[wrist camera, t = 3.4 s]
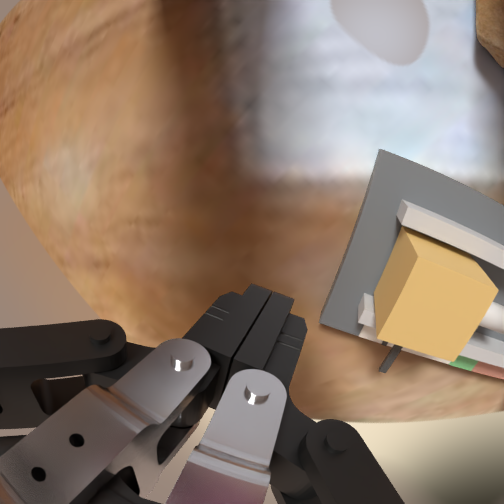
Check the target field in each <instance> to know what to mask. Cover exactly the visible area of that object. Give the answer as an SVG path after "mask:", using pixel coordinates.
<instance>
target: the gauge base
mask: <svg viewBox="0 0 504 504" xmlns="http://www.w3.org/2000/svg"><path fill="white" fill-rule="evenodd" d="M402 226H404V227H407V228H409V229H412V230H414V231H417V232H419V233H422V234H424V235H427V236H429V237H432V238H434V239H436V240H439V241H441V242H443V243H446V244H448V245H450V246H453V247H455V248H457V249H459V250H462V251H464V252H466V253H468V254H470V255H471V256H472V258H473V259H474V260H475V261H476V262H477V263H478V265H479V266H480V267H481V268H482V270H483V271H484V272H485V273H486V274H487V276H488V277H489V278H490V280H491V281H492V282H493V283H494V285H495V286H496V287H497V289H498V290H499V291H498V293H497V295H496V296H495V298H494V300H493V302H495V303H498V304H500V305H502V306H504V206H503V205H502V204H500V203H498V202H496V201H494V200H493V199H491V198H489V197H487V196H485V195H483V194H481V193H480V192H478V191H476V190H474V189H472V188H470V187H468V186H466V185H464V184H462V183H460V182H458V181H456V180H454V179H451V178H449V177H447V176H445V175H443V174H441V173H438V172H436V171H434V170H432V169H429V168H427V167H425V166H422V165H420V164H418V163H415V162H413V161H410V160H408V159H405V158H403V157H400V156H398V155H395V154H393V153H390V152H387V151H385V150H382V149H379V152H378V155H377V158H376V162H375V165H374V169H373V172H372V175H371V178H370V182H369V185H368V188H367V191H366V194H365V197H364V200H363V203H362V206H361V209H360V212H359V215H358V218H357V221H356V224H355V227H354V229H353V232H352V235H351V238H350V240H349V243H348V246H347V249H346V251H345V254H344V257H343V259H342V262H341V264H340V267H339V270H338V272H337V275H336V277H335V280H334V282H333V285H332V287H331V290H330V292H329V295H328V297H327V299H326V302H325V304H324V307H323V309H322V311H321V316H320V320H319V323H321V324H324V325H327V326H330V327H332V328H335V329H338V330H341V331H344V332H347V333H350V334H353V335H356V336H359V337H362V338H365V339H368V340H371V341H374V342H377V343H380V344H382V345H385V346H386V345H387V346H390V347H393V346H394V344H392V343H389V342H386V341H383V340H380V339H377V336H376V316H375V302H374V291H375V289H376V287H377V284H378V282H379V280H380V278H381V276H382V273H383V271H384V269H385V267H386V264H387V262H388V260H389V257H390V255H391V252H392V250H393V248H394V245H395V243H396V240H397V238H398V235H399V233H400V230H401V228H402ZM401 350H403V351H406V352H409V353H412V354H416V355H419V356H422V357H426V358H429V359H432V360H436V361H439V362H443V363H446V364H449V365H451V366H455V367H458V368H462V369H466V370H469V371H473V372H477V373H480V374H484V375H488V376H492V377H496V378H500V379H504V334H501V333H499V332H496V331H493V330H490V329H488V328H485V327H482V326H478V327H477V329H476V330H475V332H474V333H473V335H472V336H471V338H470V339H469V341H468V342H467V344H466V345H465V347H464V348H463V350H462V351H461V353H460V354H459V355H458V357H457V358H456V360H455V361H454V362H452V361H448V360H445V359H441V358H438V357H435V356H431V355H428V354H425V353H421V352H418V351H415V350H412V349H408V348H405V347H403V348H402V349H401Z"/></svg>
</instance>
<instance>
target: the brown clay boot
mask: <svg viewBox="0 0 504 504" xmlns="http://www.w3.org/2000/svg"><path fill="white" fill-rule="evenodd" d="M476 32H477V39H478V41H479V42H480V44H481V45H482V46H483V47H484V48H486V49H487V51H488V52H489V53H490V54H491V55H492V56H493V58H494V59H495V60H496V61H497V63H498V64H499V65H500V66H502V67H503V68H504V0H476Z"/></svg>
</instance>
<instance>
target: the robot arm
mask: <svg viewBox="0 0 504 504" xmlns="http://www.w3.org/2000/svg"><path fill="white" fill-rule="evenodd" d="M293 302H294V299H293V298H290V297H288V296H285V295H282V294H279V293H277V292H273V294H272V291H271V290H268V289H265V288H263V287H260V286H257V285H255V284H251V285H250V286H249V287H248V289H247V290H246V291H245V292H244V294H243V295H239V294H237V293H234V292H229V293H227V294H225V295H222V296H220V297H219V298H218V299H217V300H216V301H215V302H214V303H213V304H212V307H210V308H209V309H208V310H207V311H206V313H205V314H203V316H202V317H201V318H200V319H199V320H198V321H197V322H196V323H195V324H194V326H193V327H192V328H191V329H190V330H189V331H188V332H187V333H186V334H185V336H184V337H183V338H182V339H180V338H179V339H170V340H167V341H165V342H163V343H161V344H160V345H159V346H158V347H157V348H151V347H146V346H142V345H138V344H134V343H130V342H126V334H125V332H124V330H123V329H122V327H120V326H119V325H118V324H116V323H114V322H112V321H109V320H102V319H98V320H88V321H79V322H71V323H60V324H50V325H39V326H27V327H16V328H15V327H14V328H2V329H0V429H18V428H34V427H37V428H36V429H34V430H33V431H32V432H30V433H29V434H28V435H19V436H4V437H0V504H161V503H157V502H154V501H150V500H147V499H145V498H146V497H147V495H148V494H149V493H150V492H151V491H152V489H153V488H154V487H155V485H156V483H157V482H158V480H159V477H160V475H161V473H162V471H163V470H164V468H165V467H166V466H167V465H168V463H169V462H170V461H171V460H172V458H173V457H174V456H175V455H176V453H177V452H178V451H179V449H180V448H181V447H182V446H183V445H184V443H185V442H186V441H187V440H188V438H189V437H190V435H191V434H192V433H193V432H194V431H195V429H196V428H197V426H198V425H199V422H200V419H201V418H202V417H203V415H204V413H205V412H206V410H207V409H208V407H210V408H213V409H215V410H216V411H215V412H214V415H213V417H212V419H211V421H210V424H209V425H208V427H207V429H206V431H205V433H204V436H203V437H202V440H201V441H200V443H199V445H198V446H196V447H195V448H194V450H193V451H192V453H191V455H190V456H189V458H188V460H187V462H186V464H185V466H184V468H183V470H182V472H181V474H180V476H179V478H178V480H177V482H176V484H175V486H174V488H173V489H172V492H171V493H170V495H169V497H168V499H167V501H166V503H165V504H263V502H264V499H265V496H266V492H267V489H268V485H269V484H271V489H272V492H273V494H274V496H275V498H276V501H277V503H278V504H404V502H403V500H402V499H401V498H400V496H399V494H398V493H397V491H396V490H395V488H394V487H393V485H392V484H391V482H390V481H389V479H388V477H387V476H386V474H385V473H384V472H383V470H382V468H381V467H380V465H379V464H378V462H377V461H376V459H375V458H374V456H373V454H372V453H371V451H370V450H369V448H368V447H367V445H366V444H365V442H364V440H363V439H362V438H361V436H360V434H359V433H358V432H357V431H356V430H355V429H354V428H353V427H352V426H351V425H349V424H347V423H345V422H343V421H340V420H334V419H326V420H322V421H319V422H317V423H316V422H315V421H313V420H312V419H310V418H309V417H307V416H306V415H304V414H303V413H301V412H300V411H299V410H298V409H297V408H296V407H295V405H294V404H293V402H292V401H291V398H290V396H289V385H290V382H291V379H292V376H293V373H294V370H295V367H296V364H297V361H298V358H299V355H300V352H301V349H302V346H303V343H304V339H305V336H306V333H307V326H306V323H305V320H304V318H301V317H298V316H296V315H293V314H290V311H291V308H292V305H293ZM81 374H82V375H83V376H79V377H72V378H63V379H54V380H47V379H46V378H56V377H65V376H73V375H81Z"/></svg>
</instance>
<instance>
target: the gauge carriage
mask: <svg viewBox="0 0 504 504" xmlns="http://www.w3.org/2000/svg"><path fill="white" fill-rule="evenodd" d="M498 291H499V290H498V289H497V287H496V286H495V285H494V283H493V282H492V281H491V280H490V278H489V277H488V276H487V274H486V273H485V272H484V271H483V270H482V268H481V267H480V266H479V265H478V263H477V262H476V261H475V260H474V259H473V258H472V256H471V255H470V254H468V253H466V252H464V251H462V250H459V249H457V248H455V247H453V246H450V245H448V244H446V243H443V242H441V241H439V240H436V239H434V238H432V237H429V236H427V235H424V234H422V233H419V232H417V231H414V230H412V229H409V228H407V227H404V226H402V228H401V230H400V233H399V235H398V238H397V240H396V243H395V245H394V248H393V250H392V252H391V255H390V257H389V260H388V262H387V264H386V267H385V269H384V271H383V273H382V276H381V278H380V280H379V282H378V284H377V287H376V289H375V291H374V302H375V316H376V336H377V339H380V340H383V341H386V342H389V343H392V344H394V346H393V347H392V349H391V350H390V352H389V354H388V355H387V357H386V358H385V360H384V361H383V363H382V364H381V366H380V367H379V372H383V373H386V372H387V370H388V369H389V367H390V366H391V364H392V363H393V362H394V360H395V359H396V357H397V356H398V354H399V352H400V351H401V349H402V348H403V347H405V348H408V349H412V350H415V351H418V352H421V353H425V354H428V355H431V356H435V357H438V358H441V359H445V360H448V361H452V362H454V361H455V360H456V358H457V357H458V355H459V354H460V353H461V351H462V350H463V348H464V347H465V345H466V344H467V342H468V341H469V339H470V338H471V336H472V335H473V333H474V332H475V330H476V329H477V327H478V326H482V327H485V328H488V329H490V330H493V331H496V332H499V333H501V334H504V306H502V305H500V304H498V303H495V302H493V300H494V298H495V296H496V295H497V293H498Z"/></svg>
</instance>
